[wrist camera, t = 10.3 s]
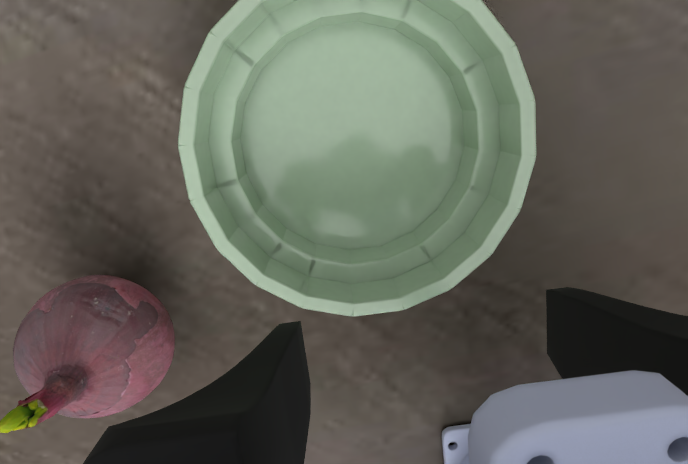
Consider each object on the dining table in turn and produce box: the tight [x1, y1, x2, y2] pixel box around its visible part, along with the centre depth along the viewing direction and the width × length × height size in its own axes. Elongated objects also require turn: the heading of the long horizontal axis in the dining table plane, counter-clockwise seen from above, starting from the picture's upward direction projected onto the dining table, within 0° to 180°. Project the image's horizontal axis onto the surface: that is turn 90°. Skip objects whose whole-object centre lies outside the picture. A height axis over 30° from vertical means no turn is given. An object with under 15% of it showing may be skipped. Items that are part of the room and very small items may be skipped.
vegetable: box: [0, 275, 175, 433], centre depth 20 cm, size 6×6×10 cm
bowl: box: [178, 0, 536, 316], centre depth 20 cm, size 13×13×5 cm
